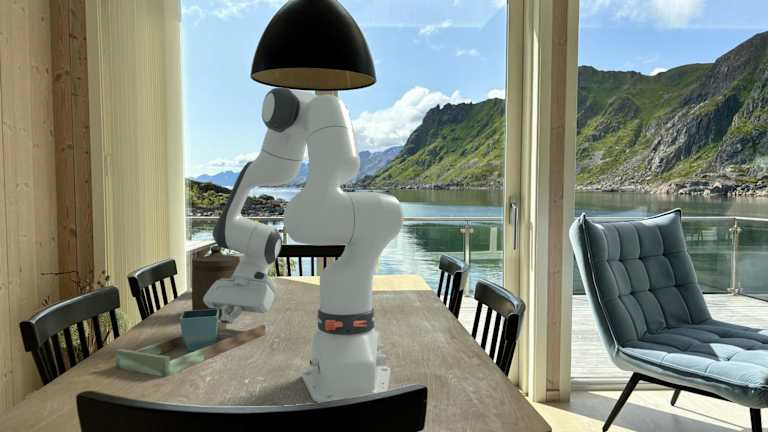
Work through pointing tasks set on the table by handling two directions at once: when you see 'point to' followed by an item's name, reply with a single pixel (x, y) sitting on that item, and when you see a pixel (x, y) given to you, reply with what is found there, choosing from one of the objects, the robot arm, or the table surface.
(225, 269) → the wooden container
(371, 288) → the robot arm
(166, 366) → the channel
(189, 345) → the flower pot
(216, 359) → the table surface
